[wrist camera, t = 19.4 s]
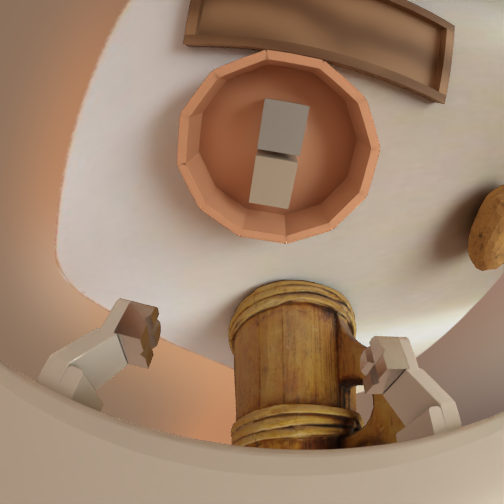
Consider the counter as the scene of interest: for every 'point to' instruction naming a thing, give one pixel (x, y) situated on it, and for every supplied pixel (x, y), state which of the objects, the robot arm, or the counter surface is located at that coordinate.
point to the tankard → (301, 372)
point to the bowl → (246, 142)
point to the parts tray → (336, 36)
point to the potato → (488, 232)
